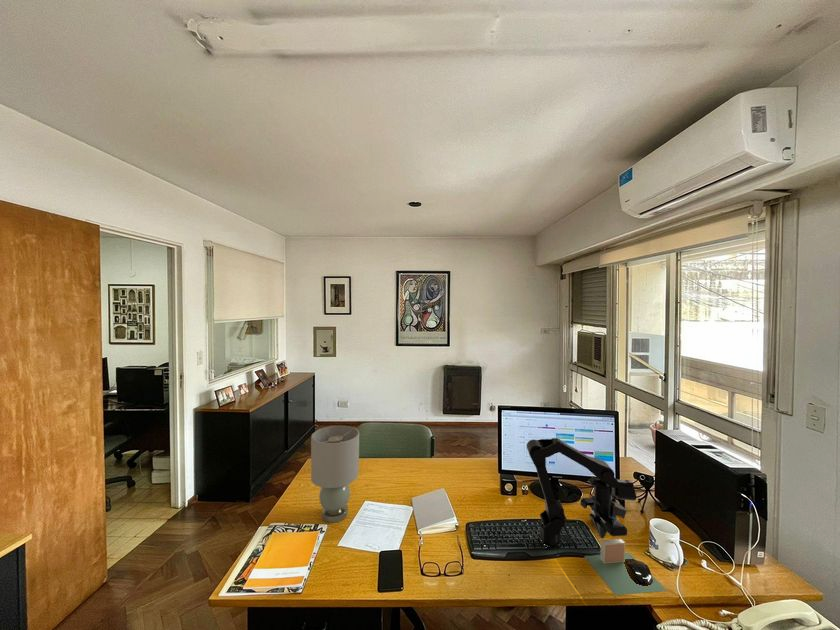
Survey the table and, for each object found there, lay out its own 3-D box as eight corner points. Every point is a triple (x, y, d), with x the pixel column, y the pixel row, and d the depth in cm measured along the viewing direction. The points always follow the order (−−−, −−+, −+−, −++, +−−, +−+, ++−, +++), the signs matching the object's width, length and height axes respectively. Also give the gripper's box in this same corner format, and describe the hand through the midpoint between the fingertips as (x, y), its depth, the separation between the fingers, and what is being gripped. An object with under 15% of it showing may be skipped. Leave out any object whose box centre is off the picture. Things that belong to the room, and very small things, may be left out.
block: (604, 563, 113) (604, 544, 113) (600, 559, 115) (600, 540, 115) (625, 562, 114) (625, 542, 114) (620, 557, 116) (621, 538, 116)
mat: (615, 596, 101) (615, 595, 101) (583, 557, 117) (583, 556, 117) (667, 591, 103) (667, 590, 103) (629, 554, 119) (629, 552, 119)
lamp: (346, 534, 127) (347, 445, 126) (300, 526, 131) (301, 440, 130) (365, 504, 147) (366, 427, 146) (324, 498, 151) (325, 423, 150)
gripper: (642, 511, 112) (641, 555, 112) (605, 482, 131) (604, 520, 131) (612, 512, 111) (611, 557, 111) (580, 483, 129) (579, 521, 130)
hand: (601, 537), depth 121 cm, fingers closed
